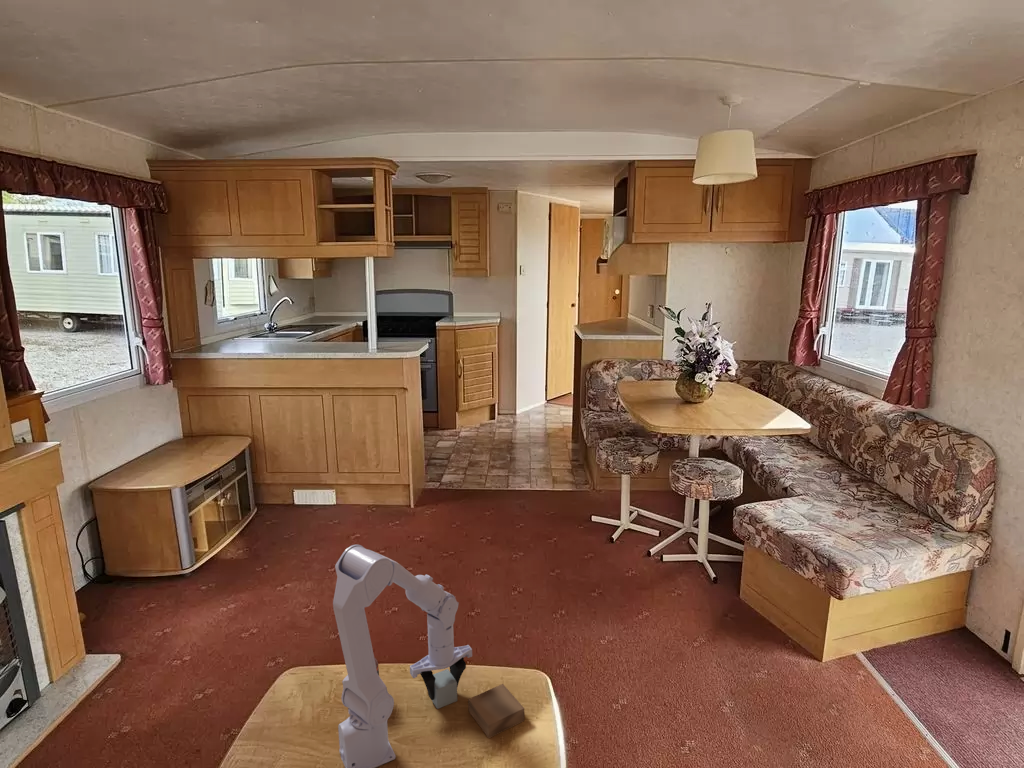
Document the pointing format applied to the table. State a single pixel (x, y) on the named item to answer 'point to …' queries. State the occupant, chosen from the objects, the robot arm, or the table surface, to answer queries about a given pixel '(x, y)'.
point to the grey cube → (444, 689)
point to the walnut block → (496, 710)
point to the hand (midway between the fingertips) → (442, 692)
